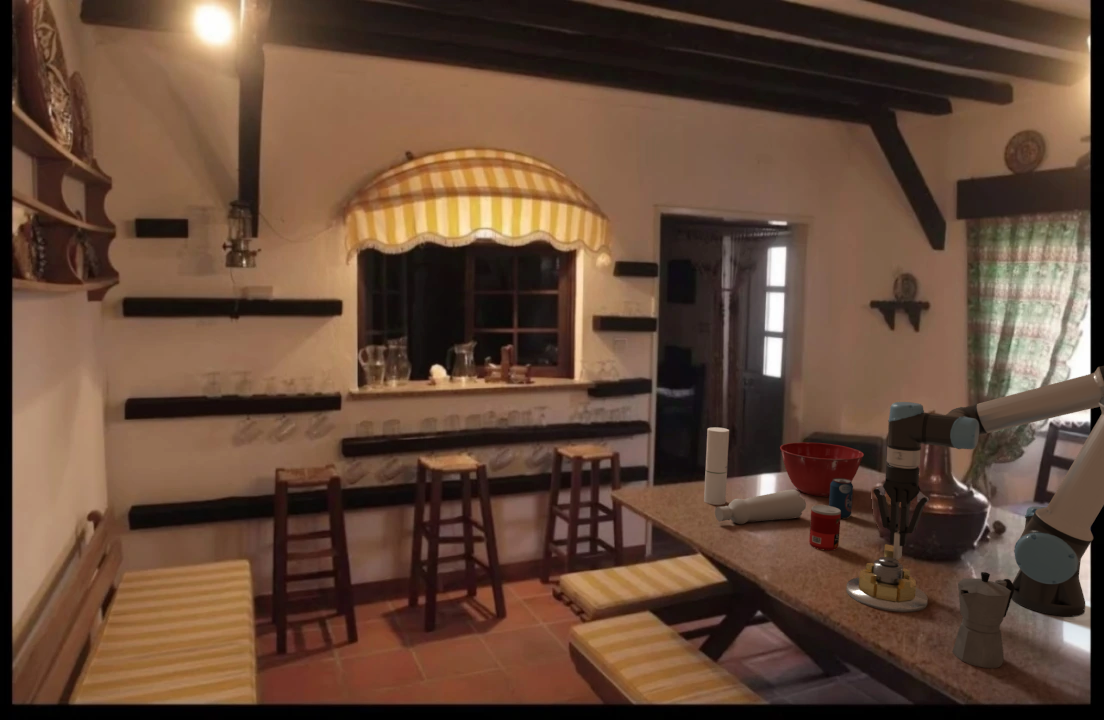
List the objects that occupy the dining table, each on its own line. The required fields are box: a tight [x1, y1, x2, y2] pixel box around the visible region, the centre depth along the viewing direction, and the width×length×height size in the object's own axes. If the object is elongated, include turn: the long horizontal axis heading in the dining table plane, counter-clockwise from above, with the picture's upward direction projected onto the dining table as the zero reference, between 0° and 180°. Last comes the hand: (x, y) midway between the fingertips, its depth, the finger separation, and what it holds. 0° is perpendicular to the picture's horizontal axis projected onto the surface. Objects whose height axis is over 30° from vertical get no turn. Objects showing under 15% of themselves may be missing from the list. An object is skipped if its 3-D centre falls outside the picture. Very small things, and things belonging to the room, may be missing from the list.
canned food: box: [808, 504, 841, 551], centre depth 219 cm, size 8×8×11 cm
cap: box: [846, 556, 928, 613], centre depth 185 cm, size 18×18×9 cm
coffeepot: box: [951, 571, 1015, 669], centre depth 155 cm, size 15×9×18 cm, turn 114°
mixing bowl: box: [779, 441, 865, 497], centre depth 276 cm, size 28×28×15 cm
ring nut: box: [858, 544, 917, 602], centre depth 187 cm, size 12×17×8 cm
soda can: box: [828, 478, 854, 519], centre depth 248 cm, size 7×7×12 cm
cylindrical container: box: [703, 427, 730, 506], centre depth 260 cm, size 7×7×25 cm
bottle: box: [714, 488, 807, 525], centre depth 241 cm, size 9×9×30 cm
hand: (897, 557), depth 191 cm, fingers closed
